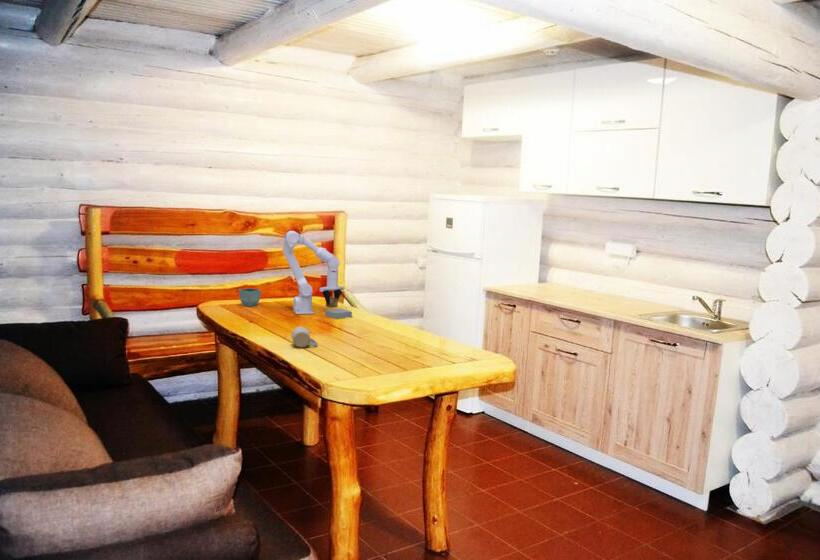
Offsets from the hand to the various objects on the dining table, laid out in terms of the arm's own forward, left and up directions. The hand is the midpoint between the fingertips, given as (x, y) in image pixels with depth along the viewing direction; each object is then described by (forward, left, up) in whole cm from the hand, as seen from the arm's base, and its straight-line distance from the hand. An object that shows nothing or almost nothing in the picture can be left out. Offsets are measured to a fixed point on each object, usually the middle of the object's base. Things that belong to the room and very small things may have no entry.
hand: (331, 304), depth 366 cm
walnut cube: (0, 0, -2) cm, 2 cm away
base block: (0, -12, -5) cm, 13 cm away
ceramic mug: (-31, -72, -5) cm, 78 cm away
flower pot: (-39, +26, -5) cm, 47 cm away
